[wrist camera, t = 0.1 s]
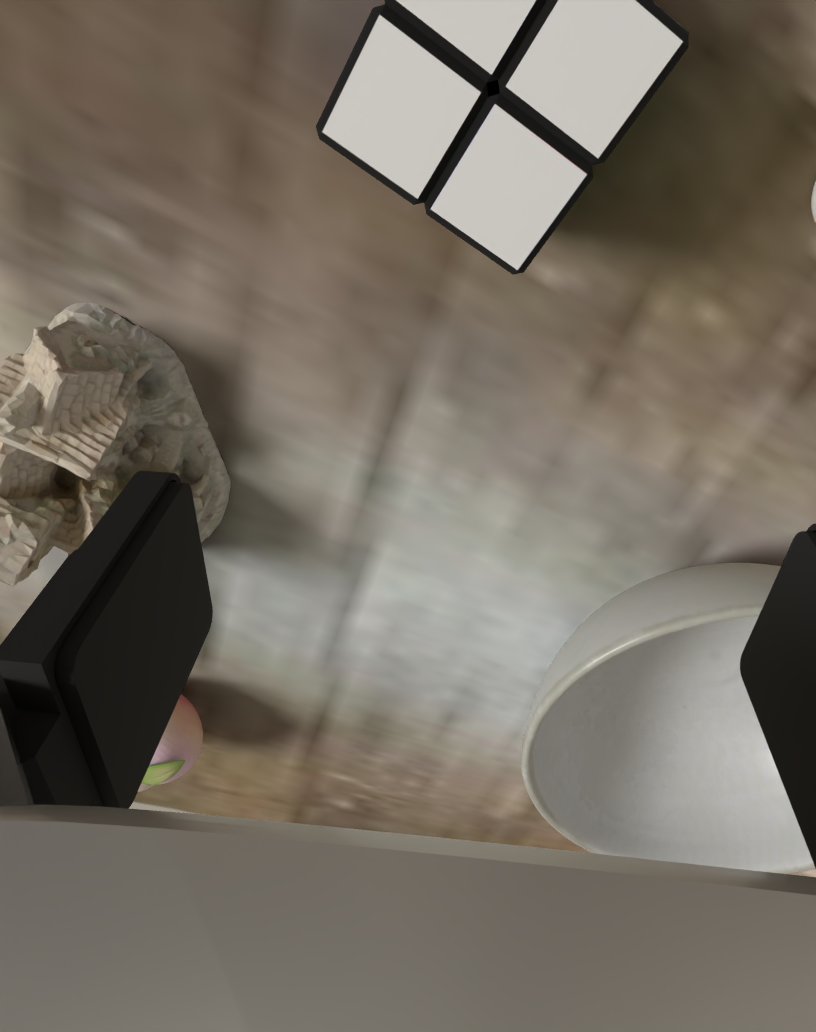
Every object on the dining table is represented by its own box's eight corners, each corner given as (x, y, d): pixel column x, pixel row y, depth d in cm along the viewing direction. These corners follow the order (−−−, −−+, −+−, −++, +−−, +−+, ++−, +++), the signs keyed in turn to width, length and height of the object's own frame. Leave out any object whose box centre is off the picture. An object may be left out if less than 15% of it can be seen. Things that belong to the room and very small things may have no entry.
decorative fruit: (173, 645, 59) (124, 745, 51) (234, 703, 63) (198, 805, 55) (96, 678, 63) (39, 776, 55) (159, 731, 66) (114, 831, 58)
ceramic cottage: (184, 568, 54) (95, 717, 41) (-17, 439, 49) (-188, 562, 36) (298, 428, 47) (234, 555, 34) (77, 263, 42) (-93, 338, 30)
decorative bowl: (924, 684, 54) (1021, 831, 45) (597, 771, 64) (617, 907, 54) (840, 412, 42) (948, 534, 32) (451, 572, 52) (444, 702, 42)
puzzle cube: (464, -123, 30) (457, -173, 22) (644, 31, 32) (699, 36, 24) (350, 107, 35) (310, 135, 27) (512, 223, 38) (520, 281, 29)
